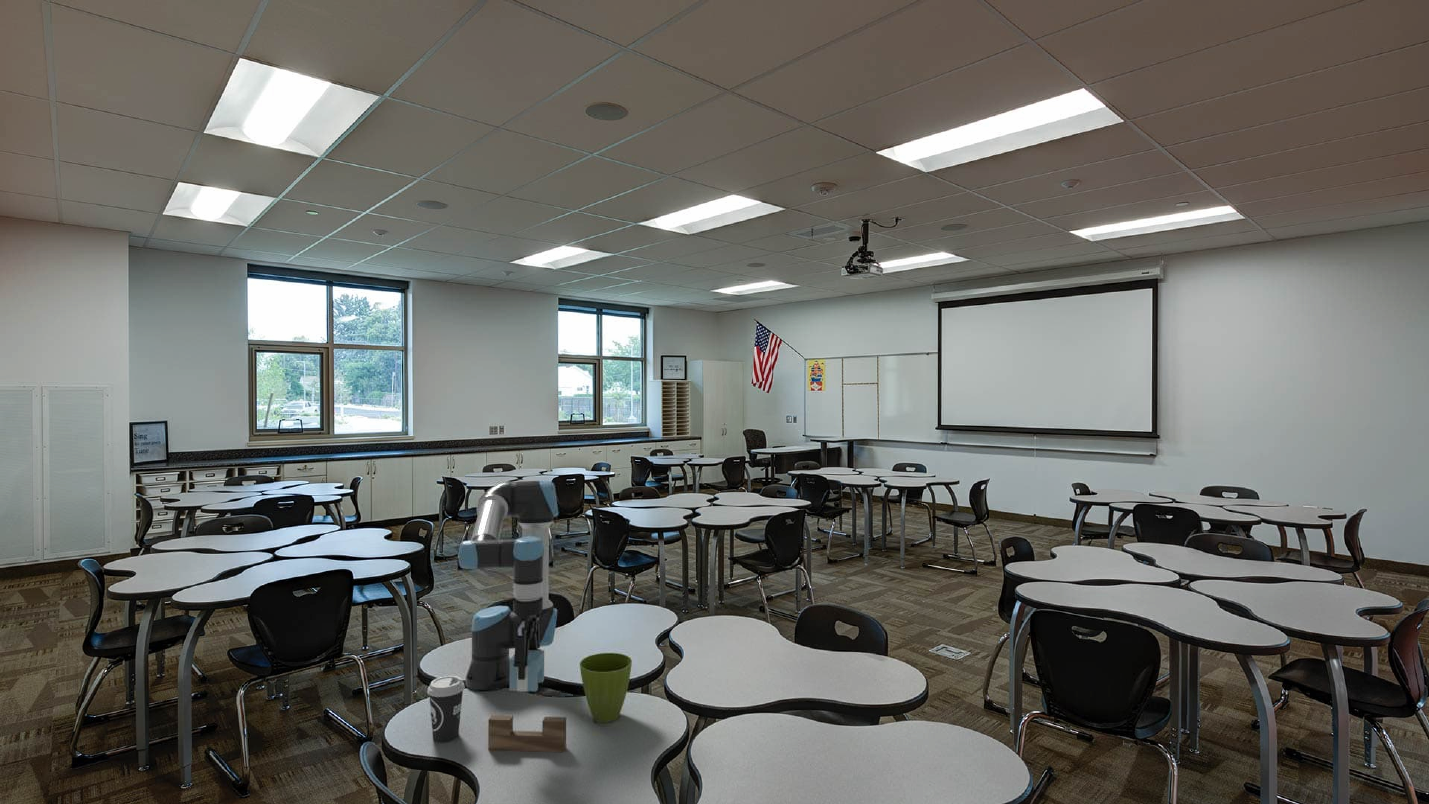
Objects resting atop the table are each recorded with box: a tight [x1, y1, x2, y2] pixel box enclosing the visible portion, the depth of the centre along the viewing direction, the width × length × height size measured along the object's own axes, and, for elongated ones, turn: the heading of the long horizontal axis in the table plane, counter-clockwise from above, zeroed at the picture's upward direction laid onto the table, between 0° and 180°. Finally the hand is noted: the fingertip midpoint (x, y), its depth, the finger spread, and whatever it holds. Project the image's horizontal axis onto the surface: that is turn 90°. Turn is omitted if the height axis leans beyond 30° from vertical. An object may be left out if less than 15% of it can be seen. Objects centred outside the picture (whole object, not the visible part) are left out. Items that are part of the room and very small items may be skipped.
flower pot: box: [579, 652, 633, 723], centre depth 198 cm, size 15×15×16 cm
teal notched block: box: [509, 649, 545, 692], centre depth 180 cm, size 7×7×8 cm
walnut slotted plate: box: [487, 714, 567, 753], centre depth 180 cm, size 2×20×8 cm, turn 88°
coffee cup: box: [426, 675, 466, 743], centre depth 186 cm, size 10×10×15 cm
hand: (527, 684), depth 180 cm, fingers closed on teal notched block, 7 cm apart
